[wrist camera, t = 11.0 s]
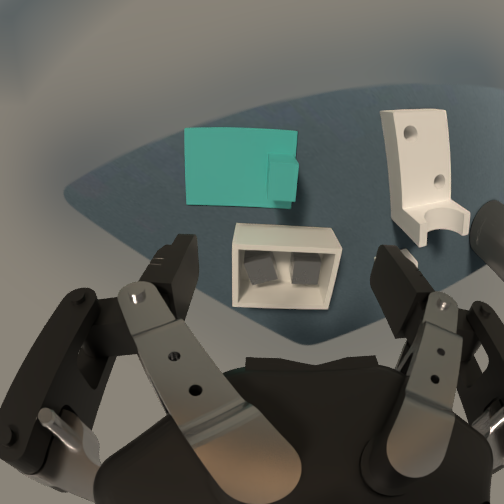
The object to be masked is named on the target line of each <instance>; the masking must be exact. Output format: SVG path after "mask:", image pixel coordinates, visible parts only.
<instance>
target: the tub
mask: <svg viewBox="0 0 504 504" xmlns="http://www.w3.org/2000/svg"><path fill="white" fill-rule="evenodd" d="M245 250H262V251H272V252H273V255H274V258H275V261H276V264H277V273H278V279H276V280H272V281H268V282H264V283H260V284H256V285H252V284H251V281H250V279H249V276H248V274H247V271H246V269H245V266H244V254H245ZM291 252H307V253H319V256H320V259H321V262H322V263H321V268H320V274H319V279H318V284H317V285H313V284H291V278H290V271H289V267H290V259H291ZM341 253H342V247H341V245H340V244H339V242H338V240H337V238H336V236H335V234H334V232H333V230H332V228H322V227H306V226H288V225H268V224H245V223H236V227H235V232H234V237H233V243H232V299H233V307H253V308H281V309H328V307H329V303H330V299H331V295H332V291H333V287H334V283H335V279H336V275H337V271H338V266H339V262H340V257H341Z"/></svg>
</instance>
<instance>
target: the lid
mask: <svg viewBox="0 0 504 504" xmlns="http://www.w3.org/2000/svg"><path fill="white" fill-rule="evenodd" d="M297 133H298V131H290V130H277V129H260V128H226V127H210V128H185V179H186V202H187V205H223V206H248V207H267V208H285V209H291V202H295V199H296V190H297V179H298V169H299V163H298V162H297V161H296V146H297Z"/></svg>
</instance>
